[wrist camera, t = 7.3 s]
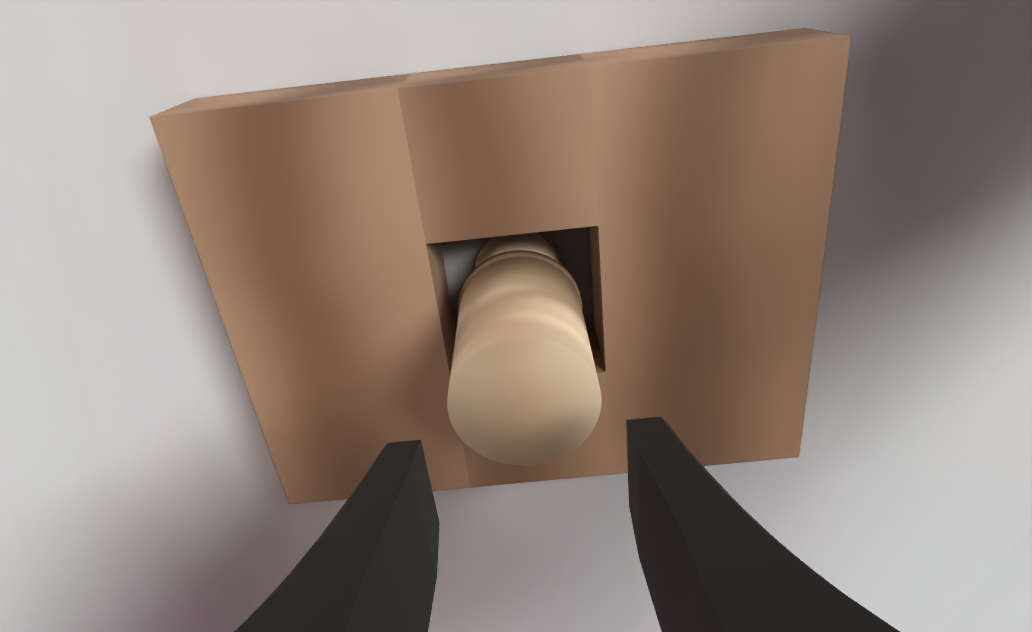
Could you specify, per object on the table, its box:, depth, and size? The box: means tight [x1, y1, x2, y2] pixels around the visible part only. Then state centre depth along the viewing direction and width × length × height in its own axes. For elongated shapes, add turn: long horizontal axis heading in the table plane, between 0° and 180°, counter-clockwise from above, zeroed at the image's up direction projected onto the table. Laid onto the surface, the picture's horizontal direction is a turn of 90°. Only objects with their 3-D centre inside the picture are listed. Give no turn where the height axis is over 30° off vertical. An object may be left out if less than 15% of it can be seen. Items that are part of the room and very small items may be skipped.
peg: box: [447, 232, 602, 465], centre depth 17 cm, size 3×3×7 cm
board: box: [149, 28, 851, 504], centre depth 19 cm, size 16×12×2 cm
